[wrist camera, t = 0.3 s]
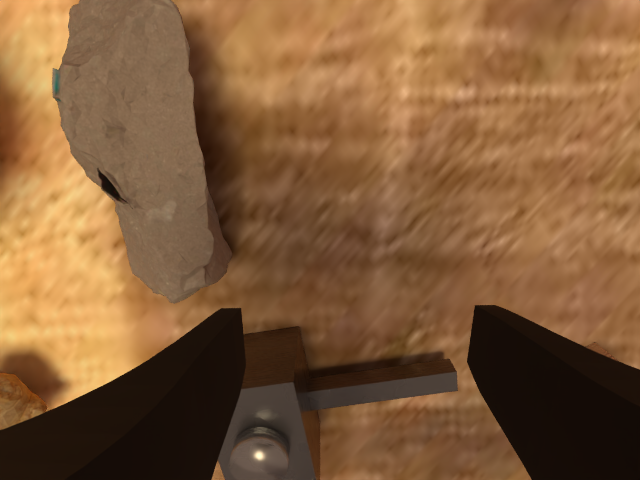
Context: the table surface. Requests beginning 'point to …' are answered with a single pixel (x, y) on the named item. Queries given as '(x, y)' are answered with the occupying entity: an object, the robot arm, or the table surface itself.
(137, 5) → the concrete fragment
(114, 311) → the table surface
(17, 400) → the ginger root
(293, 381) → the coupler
